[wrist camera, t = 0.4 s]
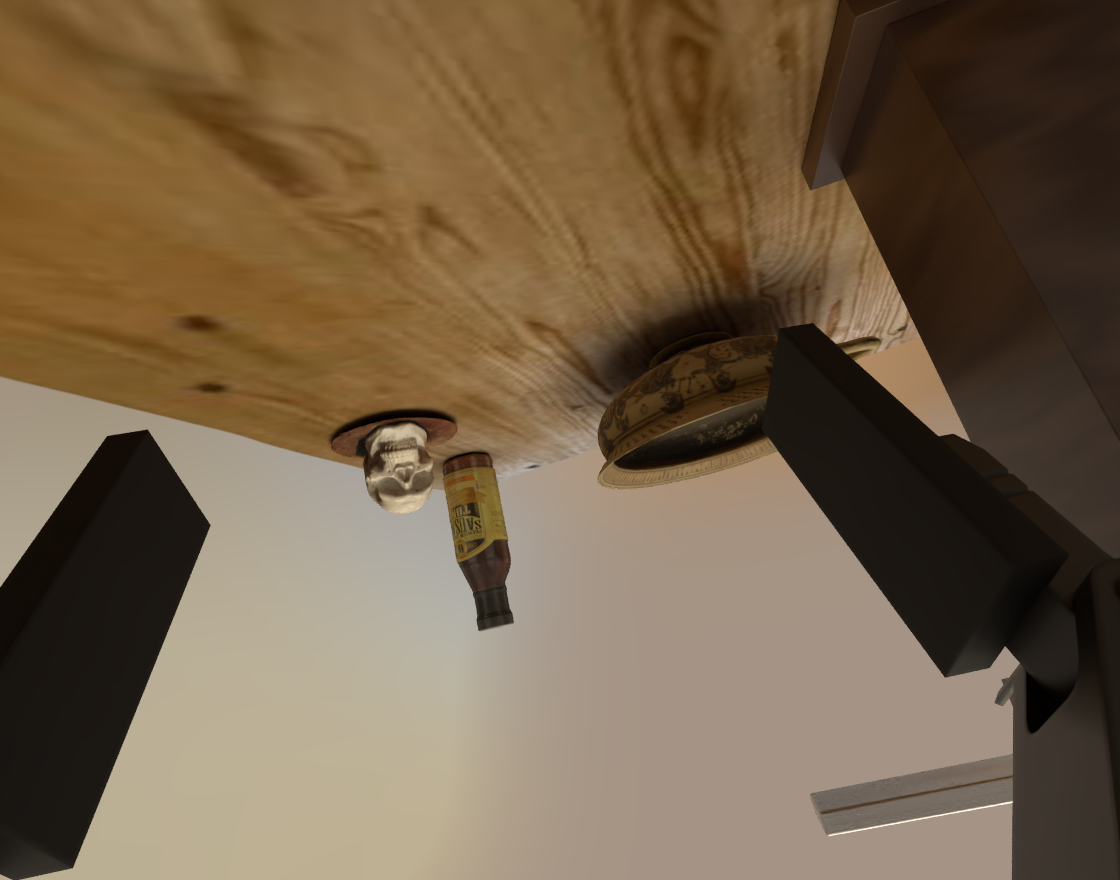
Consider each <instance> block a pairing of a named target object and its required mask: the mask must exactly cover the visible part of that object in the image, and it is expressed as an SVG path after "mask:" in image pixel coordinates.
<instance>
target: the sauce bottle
mask: <svg viewBox="0 0 1120 880" xmlns="http://www.w3.org/2000/svg"><path fill="white" fill-rule="evenodd" d="M443 473H444V478H443V480H444V487H445V493H446V499H447V504H448V510H449V517H450V523H451V529H452V535H453V541H454V546H455V553H456V559H457V562H458V564H459V566H460V568H461V570H462V572H463V574H464V576H465V578H466V580H467V581H468V583H469V585H470V587H471V589H472V591H473V596H474V598H475V604H476V609H477V625H478V630H479V631H485V630H489V629H493V628H498V627H502V626H506V625H510V624H513V623H514V621H513V614H512V612H511V610H510V608H509V603H508V597H507V592H506V591H507V588H506V585H505V580H506V577H507V575H508V572H509V569H510V565H511V557H510V552H509V548H508V543H507V542H508V537H507V532H506V527H505V522H504V516H503V511H502V506H501V500H500V495H499V489H498V484H497V479H496V473H495V470H494V469H493V466H492V459H491V457H490V456H488V455H486V454H470V455H465V456H461V457H457V458H454V459H452V460H449V461H448V462H447V463H446V464H445V465H444V468H443Z"/></svg>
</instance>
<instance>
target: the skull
mask: <svg viewBox="0 0 1120 880" xmlns="http://www.w3.org/2000/svg"><path fill="white" fill-rule="evenodd" d="M346 431H347V430H346ZM456 432H457V426H456V425H455V424H454V423H452V422H450V421H446V420H442V419H441V418H440V419H435V418H395V419H393V420H391V419H389V420H383V421H381V422H375V423H374V424H373V423H372V424H367V425H365V426H363V427H362V426H360V427H358V428H356V429H354V428H353V430H350V431H349V432H343V433H344V434H342V433H341V434H342V435H341V434H340V433H339V435H340V436H338V437H335V438H336V439H333V440H334V441H333V442H332V444H331V449H332V450H333V451H334V452H336V453H338V454H342V455H343V456H344V455H345V456H348V457H349V456H350V457H352V456H353V457H359V458H365V459H364V462H363V466H364V472H365V481H366V485H367V489H368V492H369V495H370V496H371V498H372V499H373V500H374V501H375V502H376V503H378V504H379V505H380V506H381V507H382V508H384V509H386V510H387V511H390V512H394V513H408V512H413V511H415V510H417V509H419V508H420V507H421V506H422V505H424V504H425V502H426V501H427V500H428V498H429V496H430V495H431V491H432V485H433V481H434V478H433V475H432V474H433V473H432V466H433V459H432V458H431V457H430V456H429V455H428V452H427V448H430V447H433V446H436V445H439V444H441V443H443V442H445V441H447V440H449V439H450V438H452V437H453V436H454V435H455V434H456Z"/></svg>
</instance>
